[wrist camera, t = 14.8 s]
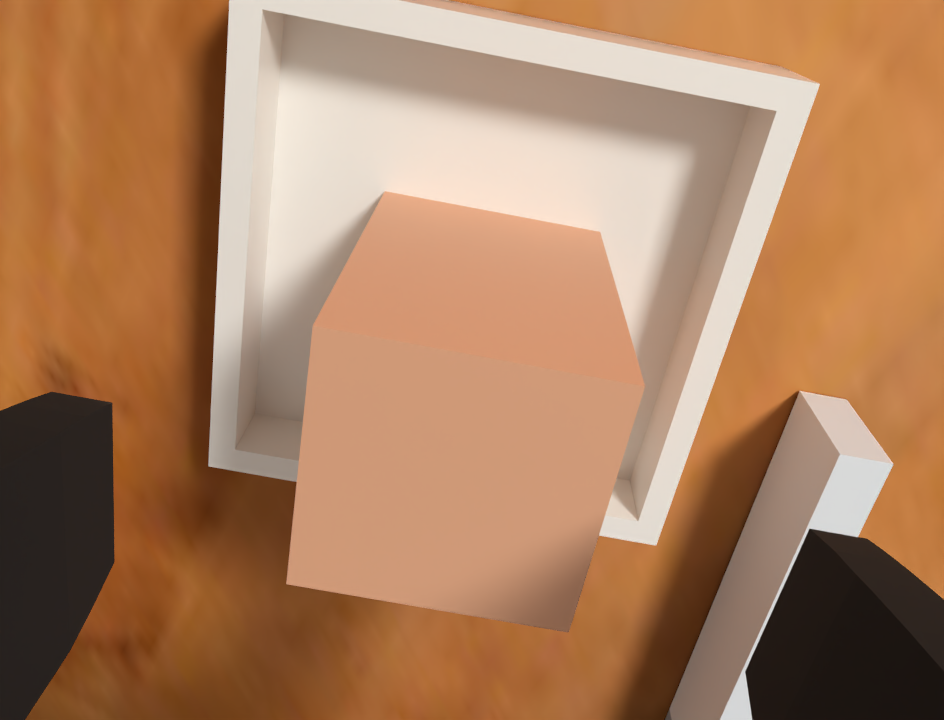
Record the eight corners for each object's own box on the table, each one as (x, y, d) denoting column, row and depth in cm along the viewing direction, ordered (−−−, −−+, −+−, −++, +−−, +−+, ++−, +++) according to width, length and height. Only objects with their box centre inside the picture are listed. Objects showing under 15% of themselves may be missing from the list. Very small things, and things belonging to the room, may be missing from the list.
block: (552, 416, 17) (568, 632, 12) (359, 382, 17) (286, 584, 12) (600, 231, 15) (645, 386, 10) (385, 190, 15) (312, 325, 10)
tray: (642, 487, 18) (656, 545, 17) (238, 414, 18) (208, 466, 16) (782, 66, 14) (819, 84, 13) (267, -36, 14) (230, -34, 12)
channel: (968, 759, 22) (1017, 848, 20) (669, 708, 21) (686, 793, 19) (1168, 459, 18) (1259, 530, 15) (799, 391, 17) (840, 454, 15)
